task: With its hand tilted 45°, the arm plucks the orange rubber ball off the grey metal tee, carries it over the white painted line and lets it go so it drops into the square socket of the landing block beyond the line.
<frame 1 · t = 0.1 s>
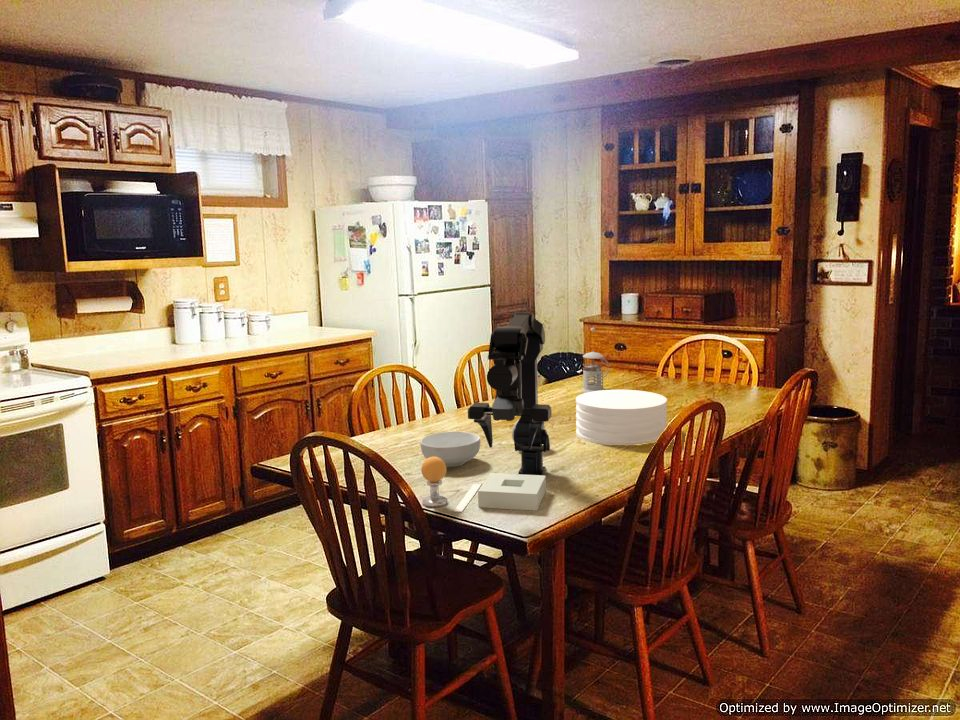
hand: (510, 448, 187), 15 cm above the table, tool pointing down, fingers open, 9 cm apart
plate stack: (620, 434, 253), on the table
french press: (595, 390, 319), on the table
landing block: (513, 498, 195), on the table
donut: (527, 449, 238), on the table
ball: (433, 469, 192), point 8 cm above the table, touching tee
cereal bowl: (451, 463, 226), on the table
throw line: (468, 497, 197), on the table
tee: (435, 503, 194), on the table
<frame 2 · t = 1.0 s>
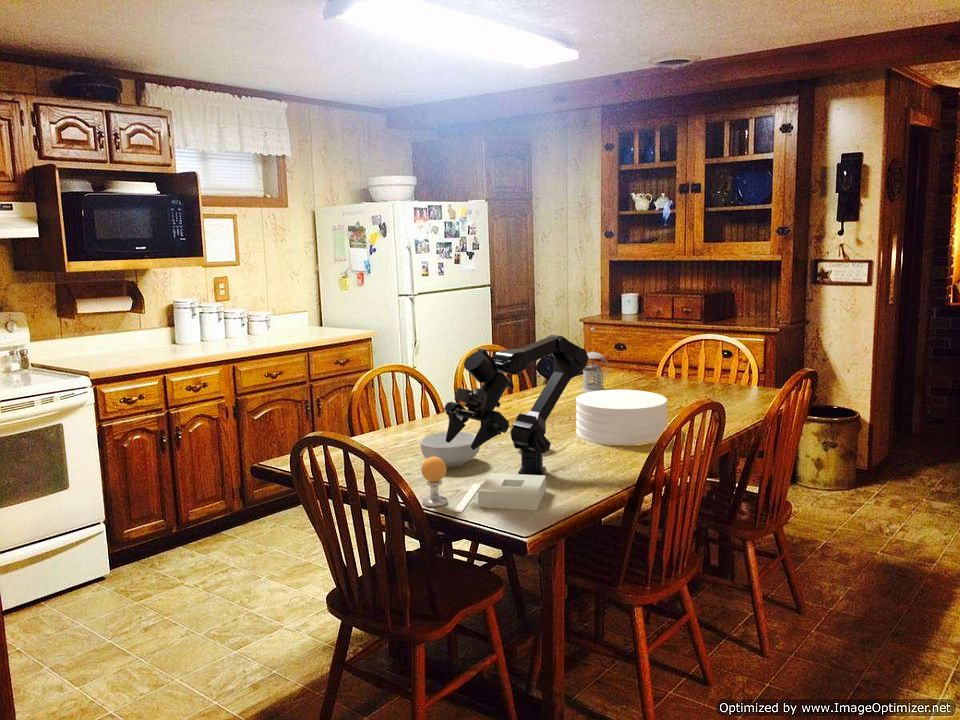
hand: (459, 445, 197), 13 cm above the table, tool tilted 45°, fingers open, 9 cm apart
nothing on the table moved.
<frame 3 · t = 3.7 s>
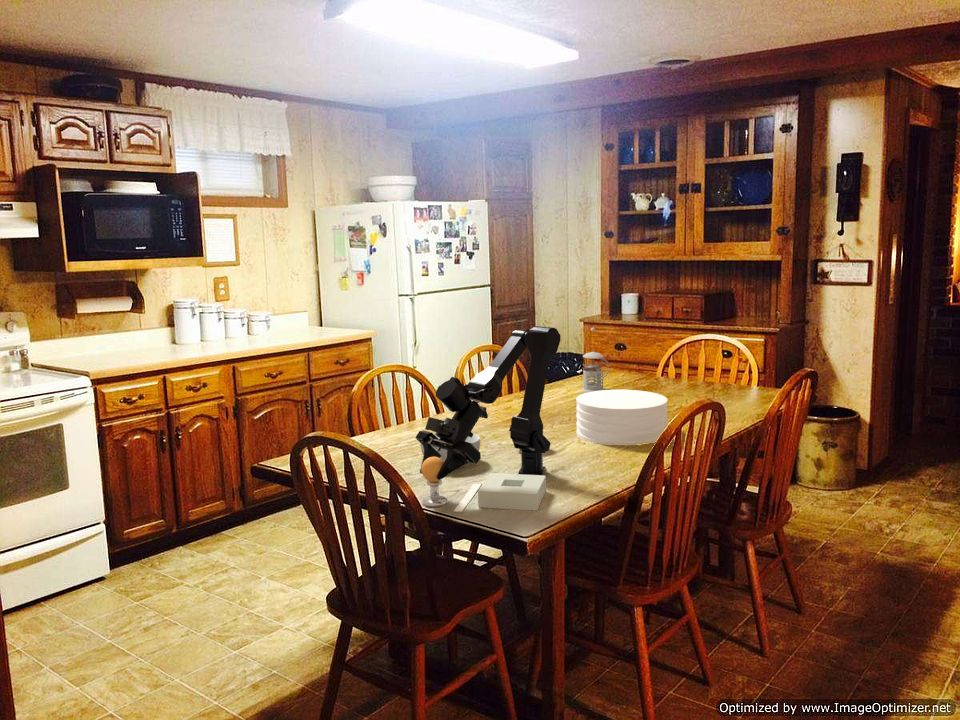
hand: (429, 476, 192), 7 cm above the table, tool tilted 45°, fingers closed on ball, 6 cm apart
ball: (433, 469, 192), point 8 cm above the table, touching gripper, tee
everything else where it was.
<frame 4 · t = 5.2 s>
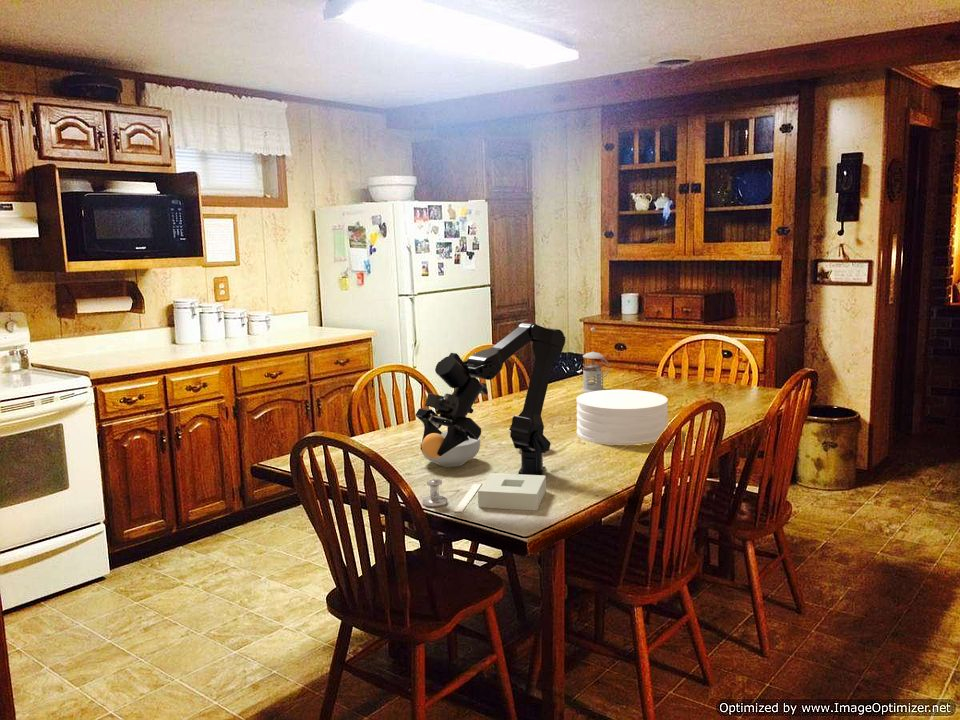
hand: (430, 452, 190), 13 cm above the table, tool tilted 45°, fingers closed on ball, 6 cm apart
ball: (434, 445, 191), point 14 cm above the table, touching gripper
everything else where it was.
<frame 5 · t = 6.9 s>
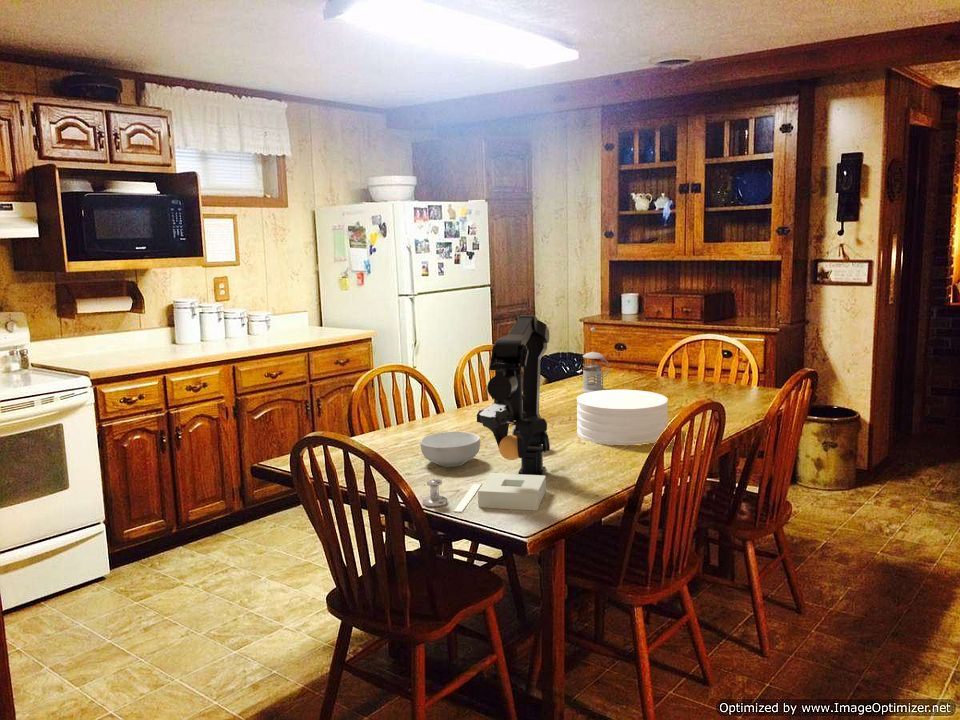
hand: (511, 455, 193), 11 cm above the table, tool pointing down, fingers closed on ball, 6 cm apart
ball: (511, 447, 193), point 13 cm above the table, tilted 45°, touching gripper
everything else where it was.
when the fingers open (6 cm above the table, at t = 8.7 s): ball drops 2 cm, resting on landing block.
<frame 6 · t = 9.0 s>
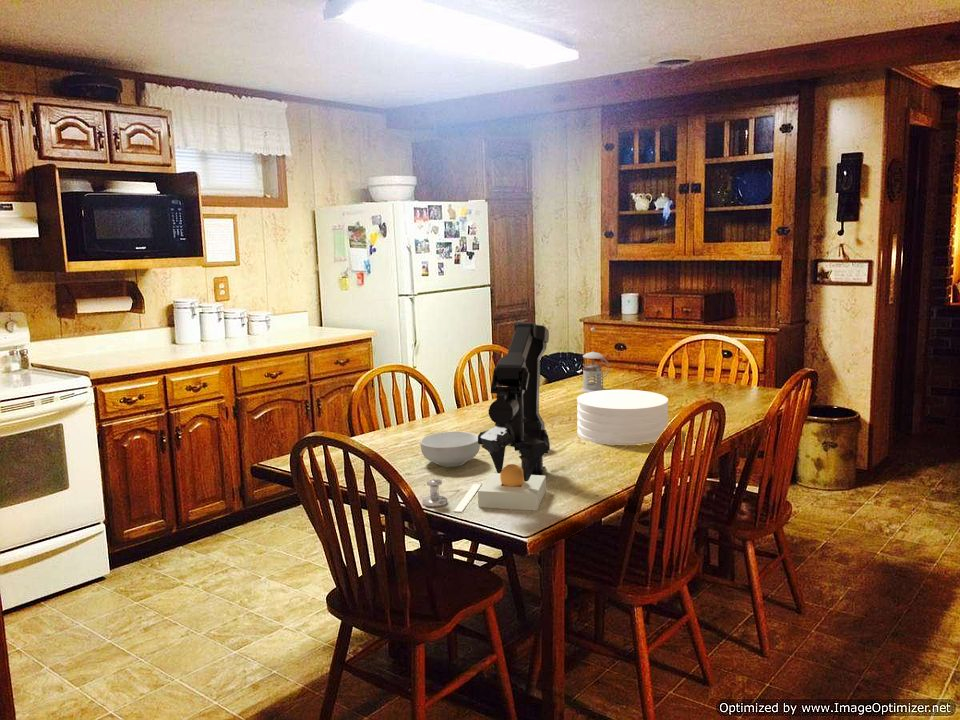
hand: (512, 477, 194), 6 cm above the table, tool pointing down, fingers open, 9 cm apart
ball: (512, 476, 194), point 6 cm above the table, tilted 45°, touching landing block
everything else where it was.
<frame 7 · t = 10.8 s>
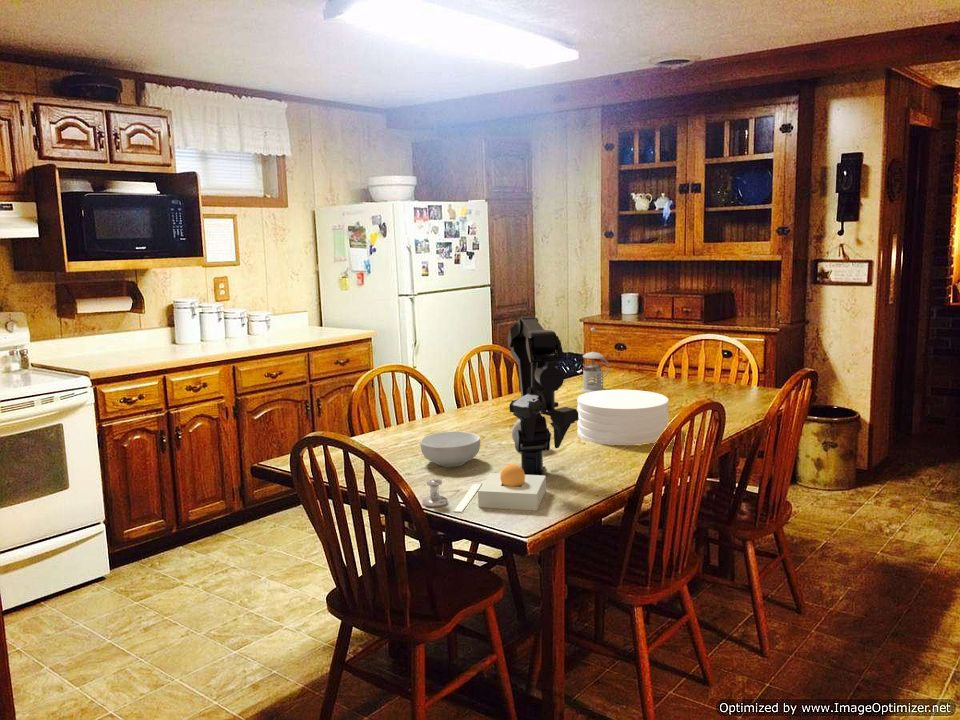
hand: (543, 444, 199), 12 cm above the table, tool pointing down, fingers open, 9 cm apart
nothing on the table moved.
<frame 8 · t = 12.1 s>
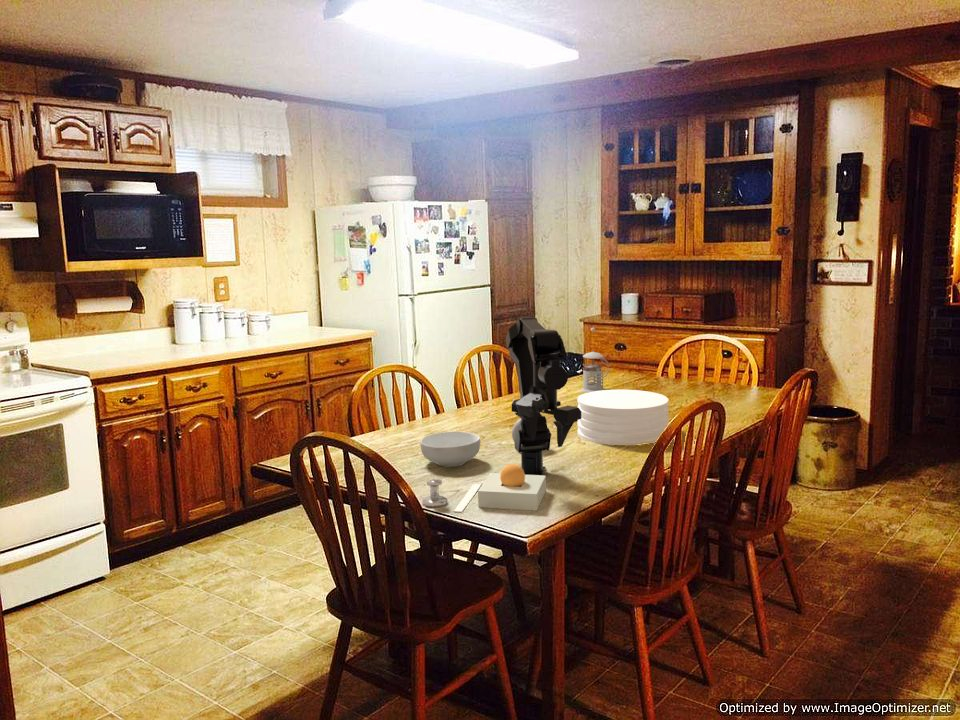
hand: (545, 443, 199), 12 cm above the table, tool pointing down, fingers open, 9 cm apart
nothing on the table moved.
at the end: the gripper is holding nothing; ball inside the target area (7.2 cm from its centre), point 5.6 cm above the table; ball 0.0 cm off-centre on the landing block, point 5.6 cm above the landing block's base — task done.
